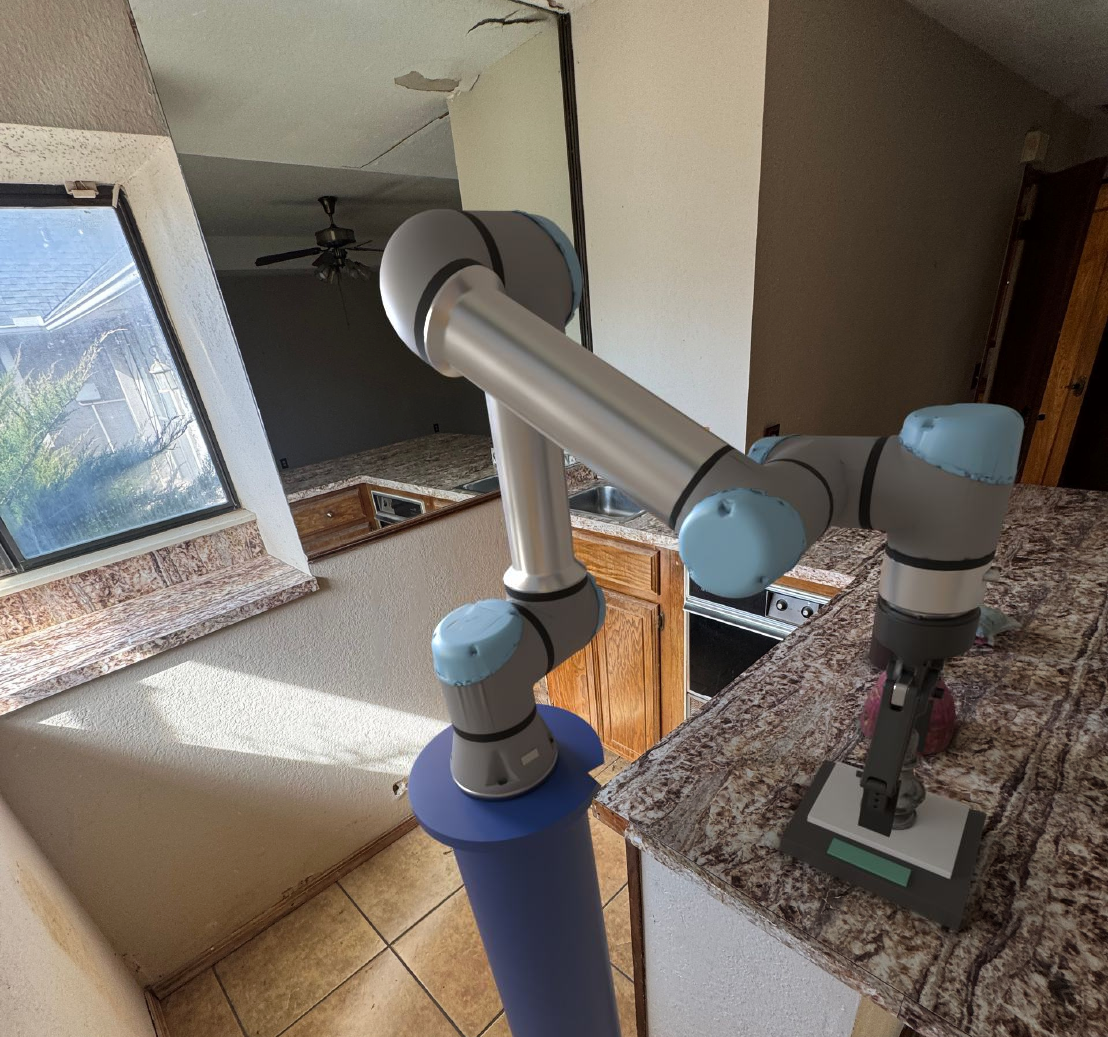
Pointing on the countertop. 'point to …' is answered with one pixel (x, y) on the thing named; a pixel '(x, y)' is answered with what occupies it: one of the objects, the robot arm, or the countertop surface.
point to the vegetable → (939, 721)
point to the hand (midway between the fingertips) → (892, 785)
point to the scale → (888, 846)
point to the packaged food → (993, 624)
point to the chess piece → (908, 789)
